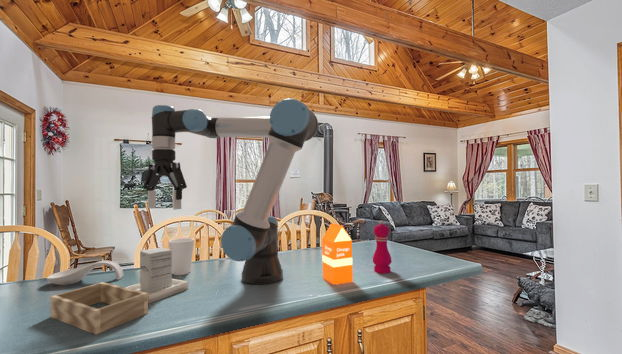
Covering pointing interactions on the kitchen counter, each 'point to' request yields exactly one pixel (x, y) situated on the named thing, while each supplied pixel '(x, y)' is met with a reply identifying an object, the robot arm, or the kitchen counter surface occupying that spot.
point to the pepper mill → (381, 249)
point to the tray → (175, 288)
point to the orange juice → (337, 255)
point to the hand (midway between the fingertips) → (164, 208)
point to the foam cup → (181, 255)
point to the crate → (93, 320)
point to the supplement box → (155, 269)
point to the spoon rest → (82, 273)
